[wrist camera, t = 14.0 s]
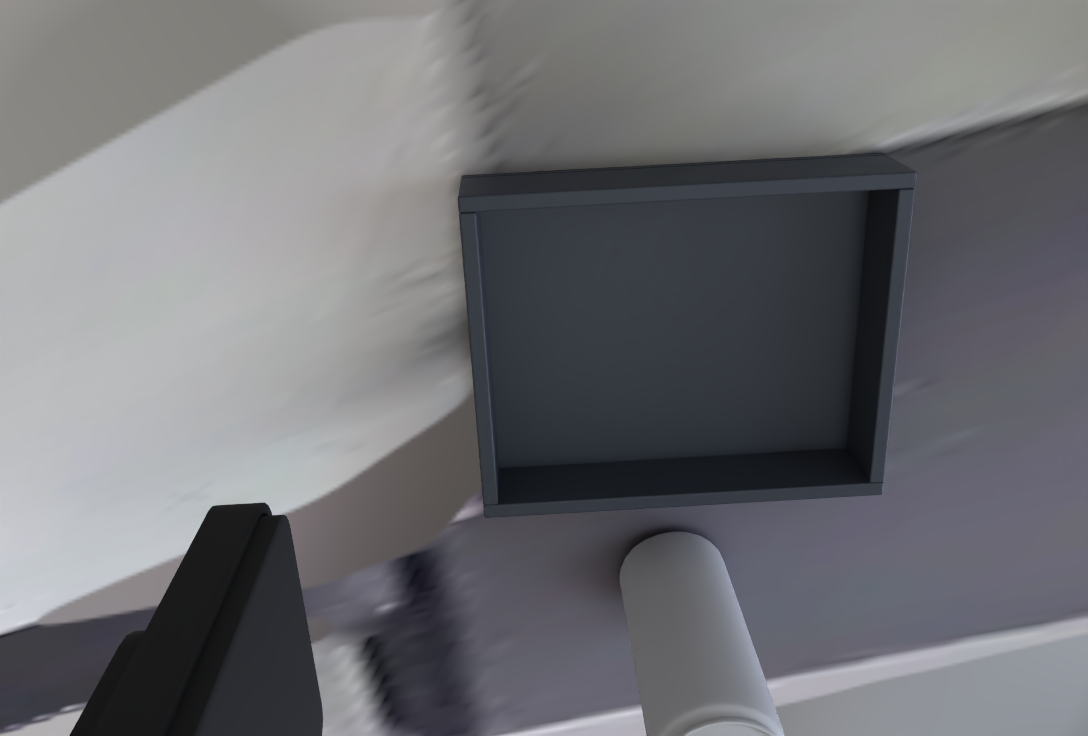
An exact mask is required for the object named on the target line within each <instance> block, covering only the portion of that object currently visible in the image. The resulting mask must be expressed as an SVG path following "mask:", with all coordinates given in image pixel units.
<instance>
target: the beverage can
mask: <svg viewBox="0 0 1088 736" xmlns="http://www.w3.org/2000/svg"><path fill="white" fill-rule="evenodd" d="M619 580H620V586H621V592H622V597H623V603H624V609H625V615H626V620H627V626H628V632H629V637H630V643H631V649H632V654H633V660H634V666H635V671H636V677H637V683H638V688H639V694H640V700H641V705H642V711H643V717H644V722H645V728H646V734H647V736H785V735H784V732H783V729H782V726H781V723H780V720H779V717H778V715H777V712H776V709H775V706H774V703H773V700H772V697H771V695H770V692H769V689H768V686H767V683H766V680H765V678H764V675H763V672H762V669H761V666H760V663H759V661H758V658H757V655H756V652H755V649H754V646H753V643H752V641H751V638H750V635H749V632H748V629H747V626H746V624H745V621H744V618H743V615H742V612H741V609H740V606H739V604H738V601H737V598H736V595H735V592H734V589H733V586H732V584H731V581H730V578H729V575H728V572H727V569H726V566H725V563H724V561H723V559H722V557H721V555H720V552H719V550H718V549H717V548H716V547H715V546H714V545H713V544H712V543H711V542H710V541H708V540H707V539H705V538H703V537H701V536H700V535H696V534H692V533H689V532H667V533H662V534H658V535H656V536H653V537H650V538H648V539H646V540H644V541H642V542H641V543H639V544H638V545H636V546H635V547H634V548H633V549H632V550H631V551H630V552H629V554H628V555H627V556H626V558H625V560H624V562H623V564H622V567H621V571H620V579H619Z"/></svg>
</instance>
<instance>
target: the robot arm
mask: <svg viewBox="0 0 1088 736" xmlns="http://www.w3.org/2000/svg"><path fill="white" fill-rule="evenodd" d="M322 728H323V712H322V703H321V697H320V692H319V686H318V680H317V675H316V669H315V664H314V658H313V652H312V647H311V641H310V635H309V630H308V625H307V619H306V613H305V607H304V602H303V596H302V590H301V585H300V580H299V574H298V568H297V562H296V557H295V551H294V546H293V540H292V534H291V529H290V524H289V521H288V519H287V517H286V516H285V515H272V513H271V510H270V508H269V506H268V505H267V504H266V503H251V504H234V505H217V506H212V507H211V509H210V510H209V511H208V513H207V515H206V517H205V519H204V521H203V522H202V524H201V526H200V528H199V530H198V532H197V534H196V536H195V538H194V540H193V541H192V543H191V545H190V547H189V549H188V551H187V553H186V555H185V557H184V559H183V561H182V562H181V564H180V566H179V568H178V570H177V572H176V574H175V576H174V578H173V579H172V582H171V583H170V585H169V587H168V589H167V591H166V593H165V595H164V597H163V599H162V600H161V602H160V604H159V606H158V608H157V610H156V612H155V614H154V615H153V617H152V619H151V621H150V623H149V625H148V627H147V629H146V631H134V632H132V633H131V634H129V635H127V636H126V637H125V639H124V640H123V641H122V643H121V644H120V645H119V647H118V649H117V651H116V653H115V654H114V656H113V658H112V660H111V662H110V663H109V665H108V667H107V669H106V671H105V672H104V674H103V676H102V678H101V680H100V681H99V683H98V685H97V687H96V689H95V691H94V692H93V694H92V696H91V698H90V700H89V701H88V703H87V705H86V707H85V709H84V710H83V712H82V714H81V716H80V718H79V719H78V721H77V723H76V725H75V727H74V729H73V730H72V732H71V734H70V736H322Z"/></svg>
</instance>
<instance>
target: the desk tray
mask: <svg viewBox="0 0 1088 736" xmlns="http://www.w3.org/2000/svg"><path fill="white" fill-rule="evenodd" d="M916 175H917V173H916V171H914V170H912V169H910V168H909V167H907V166H905V165H903V164H901V163H900V162H898V161H896V160H894V159H893V158H891V157H889V156H887V155H886V154H884V153H872V154H853V155H835V156H816V157H798V158H779V159H761V160H742V161H724V162H705V163H687V164H668V165H650V166H631V167H613V168H594V169H576V170H557V171H539V172H520V173H502V174H483V175H465V176H462V180H461V185H460V190H459V195H458V207H459V212H460V213H459V219H460V231H461V243H462V255H463V267H464V278H465V290H466V302H467V314H468V326H469V338H470V350H471V362H472V374H473V386H474V398H475V410H476V422H477V433H478V446H479V458H480V470H481V482H482V494H483V504H484V516H485V518H490V517H507V516H525V515H542V514H559V513H576V512H593V511H610V510H627V509H645V508H662V507H679V506H696V505H713V504H730V503H748V502H765V501H782V500H799V499H816V498H833V497H851V496H868V495H882V494H883V484H884V483H883V481H884V475H885V466H886V456H887V447H888V438H889V428H890V419H891V409H892V400H893V391H894V381H895V372H896V363H897V353H898V344H899V335H900V325H901V316H902V307H903V297H904V288H905V278H906V269H907V260H908V250H909V241H910V232H911V222H912V213H913V204H914V194H915V189H914V188H915V185H916Z"/></svg>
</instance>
